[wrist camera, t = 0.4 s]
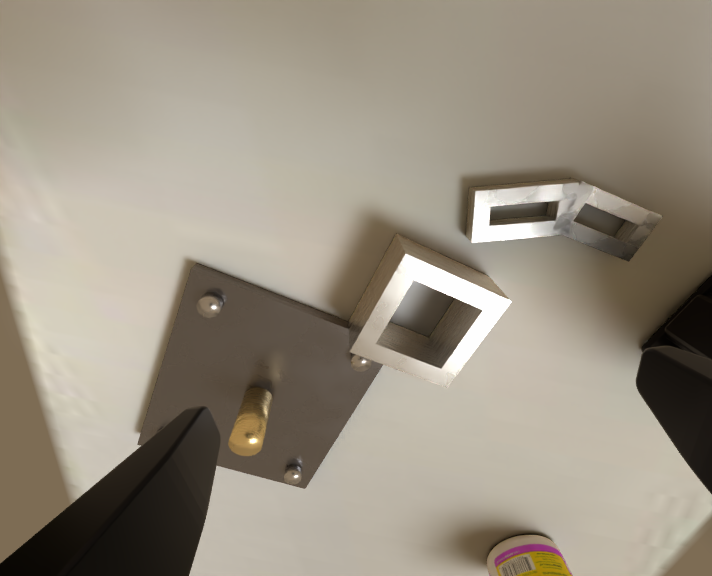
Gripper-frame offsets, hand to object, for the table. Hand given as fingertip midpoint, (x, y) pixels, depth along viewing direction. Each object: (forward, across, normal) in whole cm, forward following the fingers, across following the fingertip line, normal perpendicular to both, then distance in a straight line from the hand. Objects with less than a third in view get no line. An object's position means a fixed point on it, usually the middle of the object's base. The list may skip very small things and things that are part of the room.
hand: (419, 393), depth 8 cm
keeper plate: (+12, +9, +10) cm, 18 cm away
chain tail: (+13, -9, +1) cm, 16 cm away
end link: (+13, -2, +5) cm, 14 cm away
